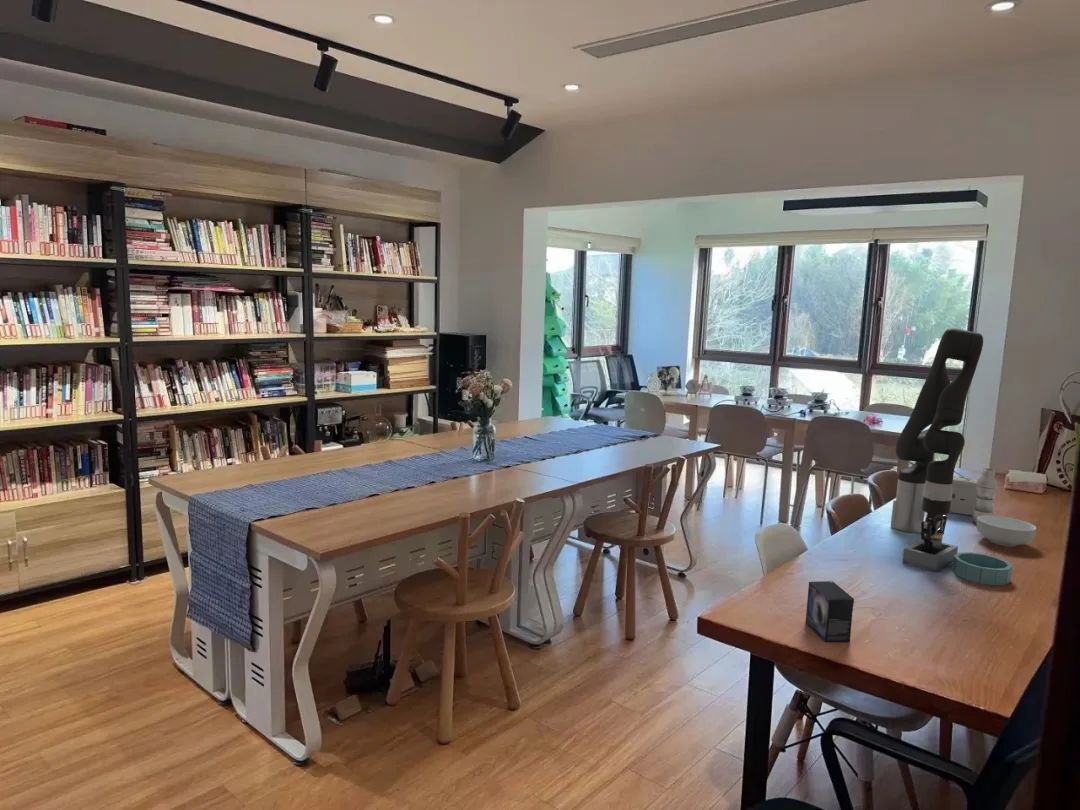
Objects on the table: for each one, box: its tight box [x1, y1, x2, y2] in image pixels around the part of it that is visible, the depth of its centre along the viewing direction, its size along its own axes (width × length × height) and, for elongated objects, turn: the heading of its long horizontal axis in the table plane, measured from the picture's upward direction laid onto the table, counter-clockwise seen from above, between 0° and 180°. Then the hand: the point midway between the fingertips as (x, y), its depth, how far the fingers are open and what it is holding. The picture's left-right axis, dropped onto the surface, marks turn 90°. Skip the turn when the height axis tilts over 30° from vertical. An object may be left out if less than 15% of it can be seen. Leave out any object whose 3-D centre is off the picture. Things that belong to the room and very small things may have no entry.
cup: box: [951, 551, 1013, 586], centre depth 212 cm, size 14×14×4 cm
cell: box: [922, 530, 944, 555], centre depth 222 cm, size 5×5×8 cm
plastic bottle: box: [972, 467, 999, 523], centre depth 263 cm, size 6×7×20 cm
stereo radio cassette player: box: [933, 458, 979, 517], centre depth 279 cm, size 21×8×20 cm, turn 58°
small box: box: [805, 580, 855, 643], centre depth 171 cm, size 11×6×10 cm, turn 5°
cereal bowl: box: [975, 515, 1037, 548], centre depth 244 cm, size 17×17×7 cm
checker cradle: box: [902, 539, 959, 573], centre depth 222 cm, size 10×16×4 cm, turn 132°
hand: (930, 551), depth 222 cm, fingers closed on cell, 4 cm apart
